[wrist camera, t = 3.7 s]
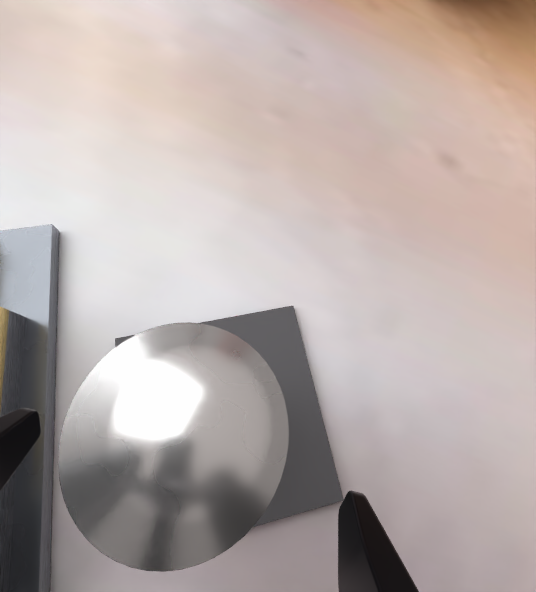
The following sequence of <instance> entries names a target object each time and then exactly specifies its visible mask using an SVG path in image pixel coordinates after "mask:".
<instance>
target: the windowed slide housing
mask: <svg viewBox="0 0 536 592" xmlns="http://www.w3.org/2000/svg"><path fill="white" fill-rule="evenodd" d="M58 254H59V231H58V230H57V229H56V228H55V227H54V226H53V225H52V224H50V225H43V226H35V227H27V228H19V229H11V230H3V231H0V417H1V416H3V415H6V414H8V413H10V412H12V411H15V410H17V409H19V408H29V409H33V410H36V411H38V413H39V417H40V424H41V434H40V436H39V438H38V440H37V441H36V443H35V444H34V446H33V447H32V448H31V450H30V451H29V453H28V454H27V455H26V457H25V458H24V459H23V461H22V462H21V464H20V465H19V466H18V468H17V469H16V471H15V472H14V473H13V475H12V476H11V478H10V479H9V480H8V482H7V483H6V484H5V486H4V487H3V489H2V490H1V491H0V592H50V562H51V523H52V485H53V446H54V408H55V369H56V331H57V292H58Z"/></svg>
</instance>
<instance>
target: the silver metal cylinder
mask: <svg viewBox="0 0 536 592" xmlns="http://www.w3.org/2000/svg"><path fill="white" fill-rule="evenodd" d="M288 439H289V426H288V414H287V409H286V404H285V400H284V397H283V394H282V391H281V388H280V385H279V383H278V381H277V379H276V377H275V375H274V373H273V372H272V370H271V369H270V367H269V365H268V364H267V362H266V361H265V360H264V359H263V358H262V357H261V355H260V354H259V353H258V352H257V351H256V350H255V349H254V348H253V347H251V346H250V345H249V344H248V343H247V342H245V341H244V340H242V339H241V338H239V337H238V336H236V335H234V334H232V333H230V332H228V331H226V330H223V329H220V328H218V327H215V326H210V325H206V324H199V323H174V324H168V325H162V326H159V327H155V328H152V329H149V330H146V331H144V332H141V333H139V334H137V335H135V336H133V337H131V338H129V339H128V340H126V341H124V342H123V343H121V344H120V345H118V346H117V347H116V348H114V349H113V350H112V351H110V352H109V353H108V354H107V355H106V356H105V357H104V358H103V359H101V360H100V361H99V363H98V364H97V365H96V366H95V367H94V368H93V369H92V370H91V372H90V373H89V374H88V376H87V377H86V378H85V380H84V381H83V383H82V384H81V385H80V387H79V389H78V391H77V393H76V394H75V396H74V398H73V400H72V402H71V405H70V407H69V409H68V412H67V414H66V417H65V421H64V424H63V428H62V431H61V437H60V443H59V456H58V468H59V480H60V485H61V489H62V494H63V498H64V501H65V503H66V506H67V508H68V511H69V513H70V515H71V517H72V519H73V520H74V522H75V524H76V526H77V527H78V529H79V530H80V531H81V533H82V534H83V535H84V536H85V538H86V539H87V540H88V541H89V542H90V543H91V544H92V545H93V546H94V547H96V548H97V549H98V550H99V551H100V552H101V553H103V554H105V555H106V556H108V557H109V558H111V559H113V560H114V561H117V562H119V563H121V564H124V565H126V566H129V567H132V568H137V569H141V570H146V571H173V570H181V569H185V568H188V567H192V566H196V565H199V564H201V563H203V562H206V561H208V560H210V559H212V558H215V557H216V556H218V555H219V554H221V553H223V552H224V551H226V550H227V549H229V548H230V547H232V546H233V545H234V544H235V543H236V542H238V541H239V540H240V539H241V538H243V537H244V536H245V535H246V533H247V532H248V531H249V530H250V529H251V528H252V527H253V526H254V525H255V524H256V523H257V521H258V520H259V518H260V517H261V516H262V514H263V513H264V512H265V510H266V509H267V507H268V505H269V503H270V501H271V500H272V498H273V496H274V494H275V492H276V489H277V487H278V485H279V482H280V480H281V477H282V473H283V470H284V466H285V463H286V457H287V451H288Z"/></svg>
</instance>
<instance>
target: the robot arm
mask: <svg viewBox="0 0 536 592" xmlns="http://www.w3.org/2000/svg"><path fill="white" fill-rule="evenodd" d="M40 434H41V424H40V417H39V413H38V411H36V410H33V409H29V408H19V409H17V410H15V411H12V412H10V413H8V414H6V415H3V416H1V417H0V491H1V490H2V489H3V487H4V486H5V484H6V483H7V482H8V480H9V479H10V478H11V476H12V475H13V473H14V472H15V471H16V469H17V468H18V466H19V465H20V464H21V462H22V461H23V459H24V458H25V457H26V455H27V454H28V453H29V451H30V450H31V448H32V447H33V446H34V444H35V443H36V441H37V440H38V438H39V436H40ZM338 585H339V592H419V591H418V589H417V587H416V586H415V584H414V582H413V580H412V578H411V577H410V575H409V573H408V571H407V569H406V568H405V566H404V564H403V562H402V561H401V559H400V557H399V555H398V553H397V552H396V550H395V548H394V546H393V544H392V543H391V541H390V539H389V537H388V536H387V534H386V532H385V530H384V528H383V527H382V525H381V523H380V521H379V519H378V518H377V516H376V514H375V512H374V511H373V509H372V507H371V505H370V503H369V502H368V500H367V498H366V497H365V495H363V494H362V493H358V492H354V491H349V492H348V493H347V495H346V497H345V499H344V501H343V502H342V504H341V506H340V509H339V515H338Z"/></svg>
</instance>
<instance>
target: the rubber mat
mask: <svg viewBox="0 0 536 592" xmlns="http://www.w3.org/2000/svg"><path fill="white" fill-rule="evenodd" d="M199 324H206V325H210V326H215V327H218V328H220V329H223V330H226V331H228V332H230V333H232V334H234V335H236V336H238V337H239V338H241V339H242V340H244V341H245V342H247V343H248V344H249V345H250V346H251V347H253V348H254V349H255V350H256V351H257V352H258V353H259V354H260V355H261V357H262V358H263V359H264V360H265V361H266V362H267V364H268V365H269V367H270V369H271V370H272V372H273V373H274V375H275V377H276V379H277V381H278V383H279V385H280V388H281V391H282V394H283V397H284V400H285V404H286V409H287V414H288V426H289V439H288V451H287V457H286V463H285V466H284V470H283V473H282V477H281V480H280V482H279V485H278V487H277V489H276V492H275V494H274V496H273V498H272V500H271V501H270V503H269V505H268V507H267V509H266V510H265V512H264V513H263V514H262V516H261V517H260V518H259V520H258V521H257V523H256V524H255V525H254V526H253V527H255V526H258V525H261V524H265V523H268V522H272V521H275V520H278V519H282V518H285V517H289V516H292V515H295V514H299V513H302V512H306V511H309V510H312V509H316V508H319V507H323V506H326V505H329V504H333V503H336V502H340V501H343V496H342V492H341V488H340V484H339V480H338V477H337V473H336V469H335V465H334V461H333V457H332V453H331V450H330V446H329V442H328V438H327V434H326V430H325V427H324V423H323V419H322V415H321V411H320V407H319V403H318V400H317V396H316V392H315V388H314V384H313V380H312V377H311V373H310V369H309V365H308V361H307V357H306V354H305V350H304V346H303V342H302V338H301V334H300V330H299V327H298V323H297V319H296V315H295V311H294V307H293V306H289V307H283V308H278V309H272V310H267V311H262V312H256V313H251V314H245V315H240V316H235V317H229V318H224V319H218V320H213V321H208V322H202V323H199ZM133 336H135V335H132V336H127V337H121V338H116V339H115V345H116V347H117V346H118V345H120V344H121V343H123V342H124V341H126V340H128V339H129V338H131V337H133Z"/></svg>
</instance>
